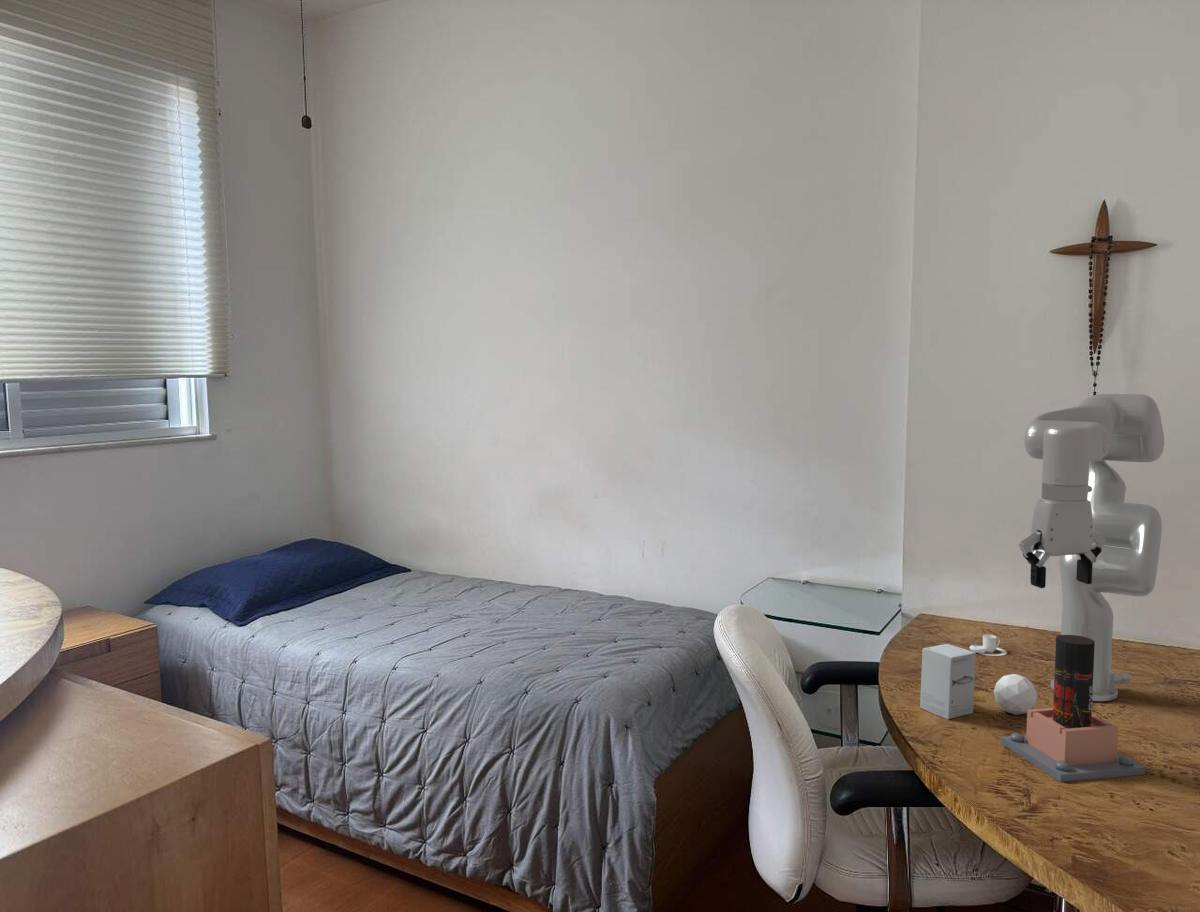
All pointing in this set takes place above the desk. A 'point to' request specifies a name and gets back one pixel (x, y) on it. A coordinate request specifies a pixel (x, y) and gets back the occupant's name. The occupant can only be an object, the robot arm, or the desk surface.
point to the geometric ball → (1015, 694)
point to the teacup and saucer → (988, 646)
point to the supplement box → (947, 681)
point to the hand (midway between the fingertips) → (1061, 584)
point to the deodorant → (1073, 681)
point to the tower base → (1067, 768)
